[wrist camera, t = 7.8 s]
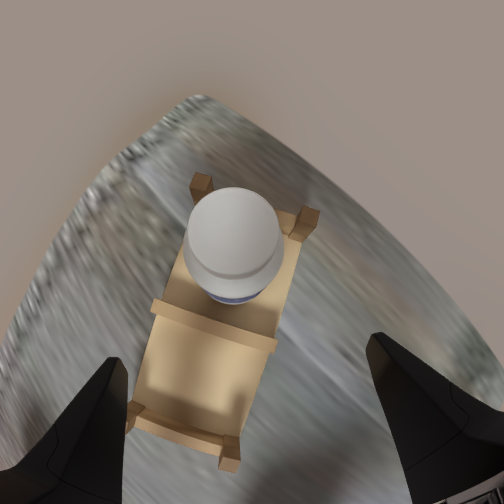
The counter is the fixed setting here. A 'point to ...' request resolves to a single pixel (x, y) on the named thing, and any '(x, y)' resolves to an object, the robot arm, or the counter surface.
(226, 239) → the pill bottle
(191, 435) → the rack
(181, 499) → the counter surface
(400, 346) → the robot arm
